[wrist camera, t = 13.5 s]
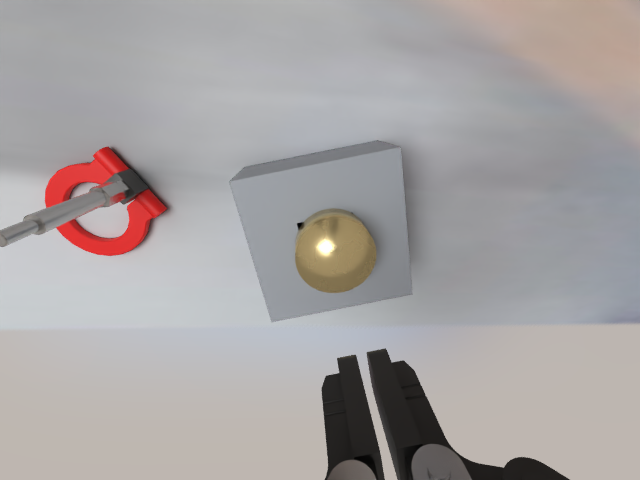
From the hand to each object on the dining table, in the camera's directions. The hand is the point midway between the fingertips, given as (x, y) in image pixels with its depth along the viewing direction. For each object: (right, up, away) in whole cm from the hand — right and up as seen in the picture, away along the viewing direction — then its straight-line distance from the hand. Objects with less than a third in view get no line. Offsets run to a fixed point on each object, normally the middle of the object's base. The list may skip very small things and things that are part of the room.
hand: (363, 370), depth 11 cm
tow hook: (-21, +8, +16) cm, 28 cm away
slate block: (-1, +7, +18) cm, 19 cm away
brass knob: (-1, +7, +17) cm, 19 cm away
